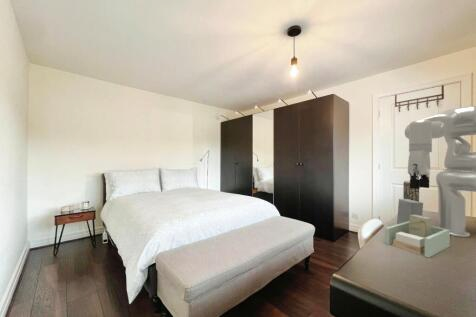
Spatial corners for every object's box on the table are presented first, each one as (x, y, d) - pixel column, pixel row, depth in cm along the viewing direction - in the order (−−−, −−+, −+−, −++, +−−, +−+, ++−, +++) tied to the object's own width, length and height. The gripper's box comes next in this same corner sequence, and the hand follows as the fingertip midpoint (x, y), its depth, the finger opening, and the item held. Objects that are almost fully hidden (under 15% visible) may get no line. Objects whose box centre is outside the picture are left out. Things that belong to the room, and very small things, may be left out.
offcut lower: (399, 244, 90) (399, 237, 90) (425, 252, 82) (425, 245, 82) (393, 246, 87) (393, 239, 87) (420, 255, 79) (420, 247, 79)
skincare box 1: (396, 227, 112) (396, 198, 112) (408, 227, 112) (408, 198, 112) (410, 233, 103) (410, 201, 103) (423, 233, 104) (423, 201, 104)
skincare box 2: (408, 242, 92) (408, 214, 92) (414, 240, 93) (414, 214, 93) (425, 247, 86) (425, 218, 86) (431, 246, 87) (431, 217, 87)
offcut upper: (400, 238, 89) (401, 231, 89) (424, 244, 82) (424, 237, 82) (395, 240, 87) (395, 233, 87) (419, 247, 80) (419, 239, 80)
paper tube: (422, 228, 111) (422, 182, 112) (407, 227, 113) (408, 181, 113) (414, 224, 118) (414, 181, 118) (400, 223, 119) (400, 180, 120)
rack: (408, 235, 100) (408, 221, 100) (449, 246, 87) (449, 229, 88) (385, 243, 89) (385, 227, 89) (428, 257, 77) (428, 238, 77)
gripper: (417, 150, 98) (417, 186, 97) (400, 148, 89) (400, 187, 89) (439, 149, 91) (438, 188, 91) (422, 147, 82) (422, 190, 82)
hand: (419, 188), depth 90 cm, fingers open, 9 cm apart
